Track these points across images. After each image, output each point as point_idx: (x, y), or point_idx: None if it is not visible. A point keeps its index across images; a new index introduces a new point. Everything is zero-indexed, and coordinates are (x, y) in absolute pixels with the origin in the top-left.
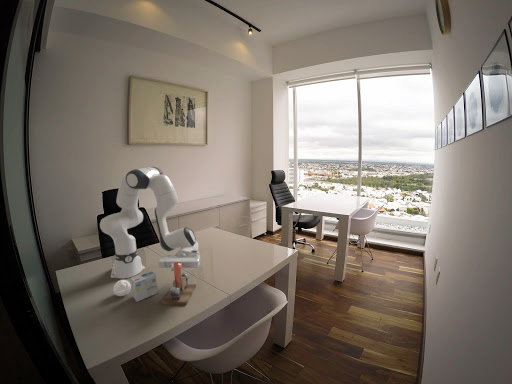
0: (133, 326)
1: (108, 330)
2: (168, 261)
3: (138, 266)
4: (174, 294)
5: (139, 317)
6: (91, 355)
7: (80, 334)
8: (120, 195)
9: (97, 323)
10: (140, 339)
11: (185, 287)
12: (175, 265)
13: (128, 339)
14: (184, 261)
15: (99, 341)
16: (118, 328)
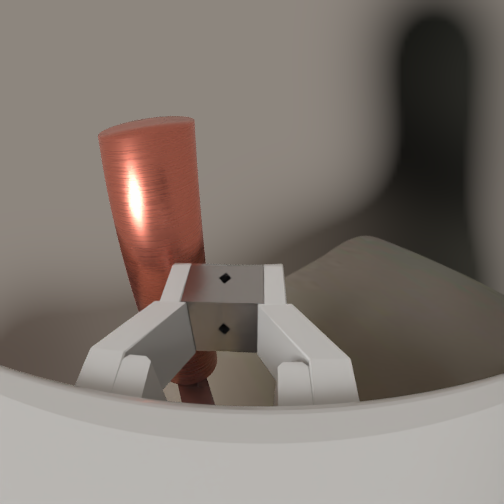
0: (369, 321)
1: (432, 302)
2: (479, 383)
3: None
4: None
5: (385, 362)
6: (388, 247)
7: (481, 287)
8: None
9: (489, 320)
10: (300, 281)
11: None
12: (163, 118)
13: (339, 280)
14: (12, 371)
15: (413, 273)
16: (411, 311)
